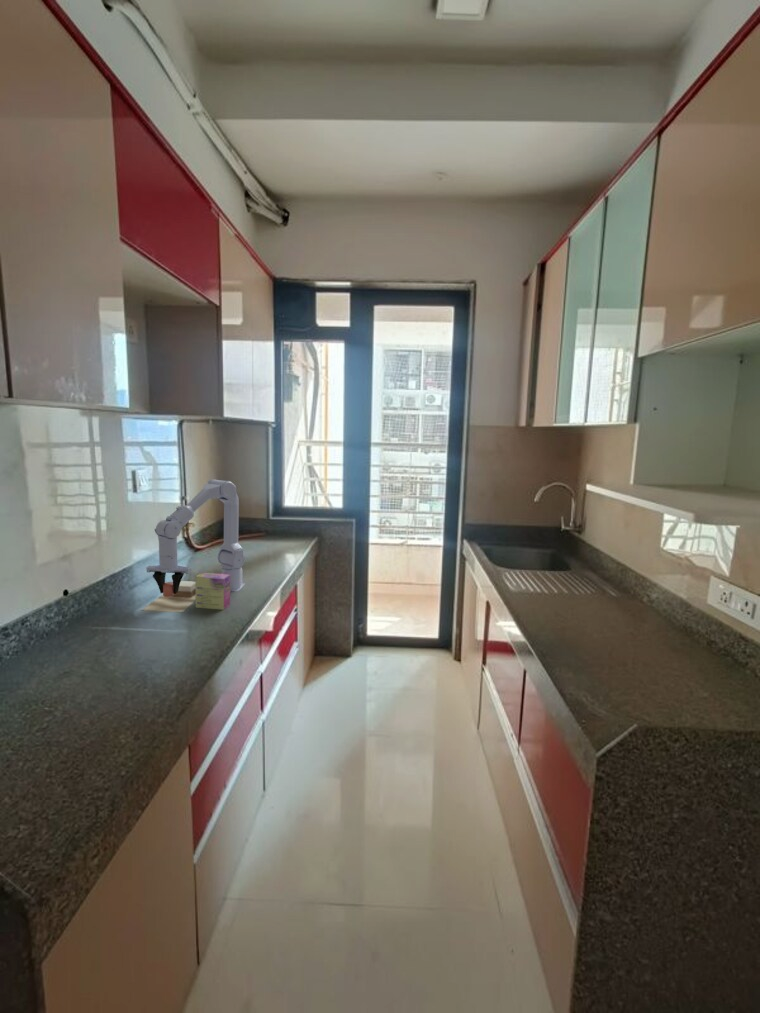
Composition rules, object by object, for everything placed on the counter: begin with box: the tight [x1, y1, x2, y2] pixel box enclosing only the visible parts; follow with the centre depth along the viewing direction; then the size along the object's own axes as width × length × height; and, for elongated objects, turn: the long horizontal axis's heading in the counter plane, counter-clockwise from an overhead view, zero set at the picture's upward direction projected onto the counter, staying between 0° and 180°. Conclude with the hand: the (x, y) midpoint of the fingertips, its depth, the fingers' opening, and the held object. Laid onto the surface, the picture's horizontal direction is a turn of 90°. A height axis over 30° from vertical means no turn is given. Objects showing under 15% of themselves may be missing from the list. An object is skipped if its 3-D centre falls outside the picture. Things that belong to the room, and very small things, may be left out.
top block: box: [178, 580, 196, 592], centre depth 177 cm, size 6×6×2 cm
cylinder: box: [162, 581, 176, 597], centre depth 165 cm, size 4×4×4 cm
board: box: [140, 594, 196, 613], centre depth 172 cm, size 24×14×1 cm, turn 0°
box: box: [195, 571, 231, 611], centre depth 166 cm, size 10×6×12 cm, turn 84°
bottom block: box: [173, 588, 196, 597], centre depth 177 cm, size 7×7×2 cm
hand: (169, 592), depth 165 cm, fingers closed on cylinder, 4 cm apart
